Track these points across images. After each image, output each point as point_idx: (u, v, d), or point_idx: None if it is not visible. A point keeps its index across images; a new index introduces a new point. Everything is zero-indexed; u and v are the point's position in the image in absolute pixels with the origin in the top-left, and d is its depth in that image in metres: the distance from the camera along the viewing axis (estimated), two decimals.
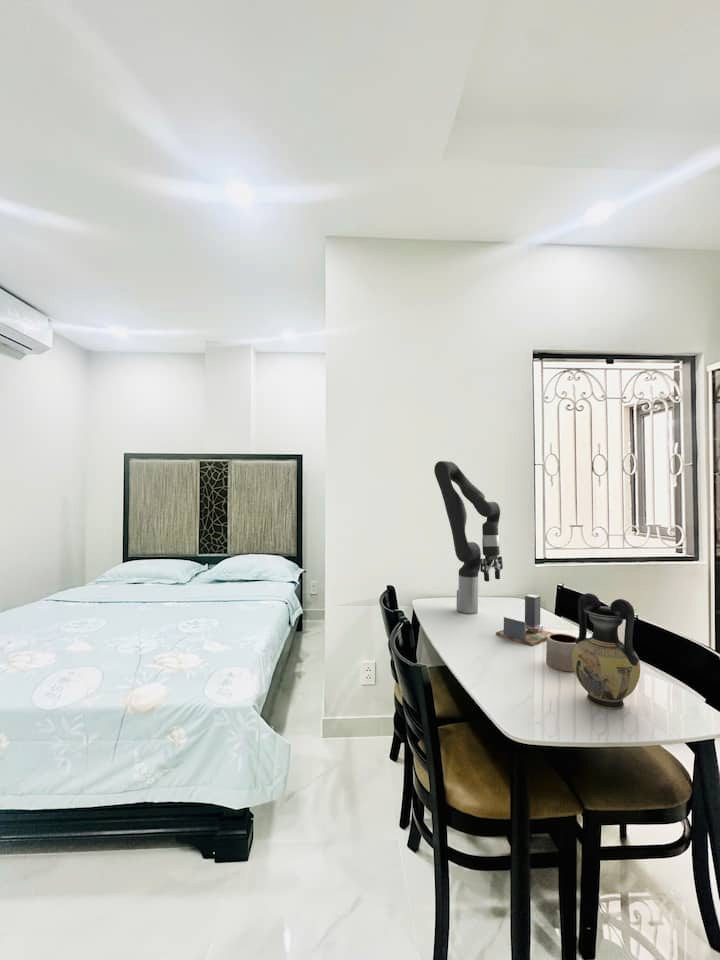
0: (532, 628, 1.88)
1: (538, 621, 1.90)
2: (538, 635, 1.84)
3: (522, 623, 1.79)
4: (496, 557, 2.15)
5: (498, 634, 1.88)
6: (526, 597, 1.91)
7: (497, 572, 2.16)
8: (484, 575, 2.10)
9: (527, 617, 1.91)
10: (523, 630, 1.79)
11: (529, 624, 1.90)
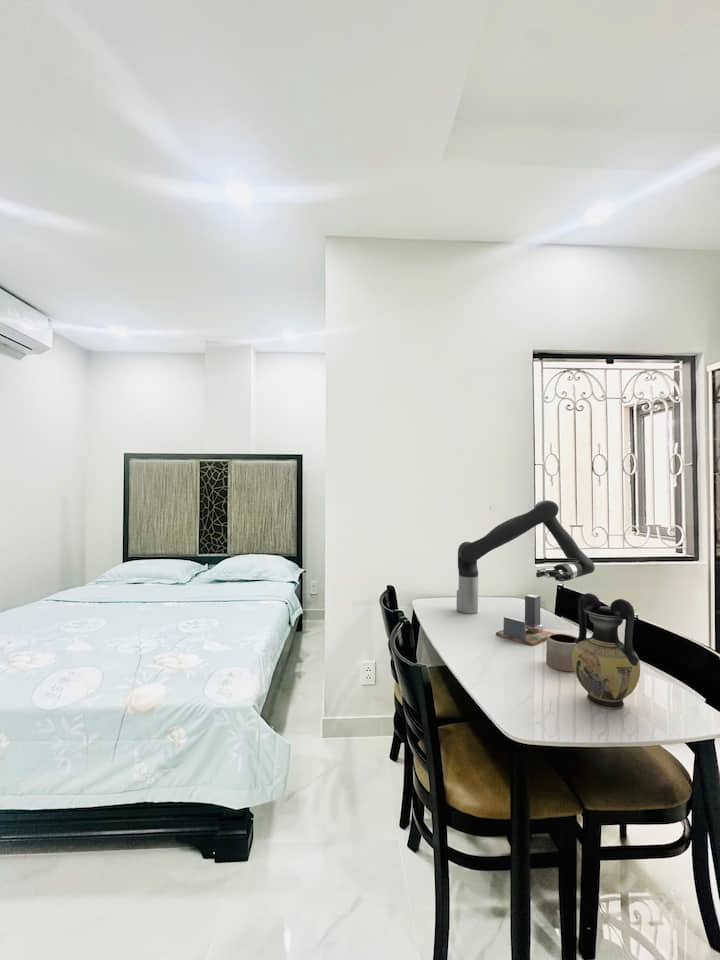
0: (532, 628, 1.88)
1: (538, 621, 1.90)
2: (538, 635, 1.84)
3: (522, 623, 1.79)
4: None
5: (498, 634, 1.88)
6: (526, 597, 1.91)
7: (541, 574, 2.03)
8: (561, 576, 1.96)
9: (527, 617, 1.91)
10: (523, 630, 1.79)
11: (529, 624, 1.90)
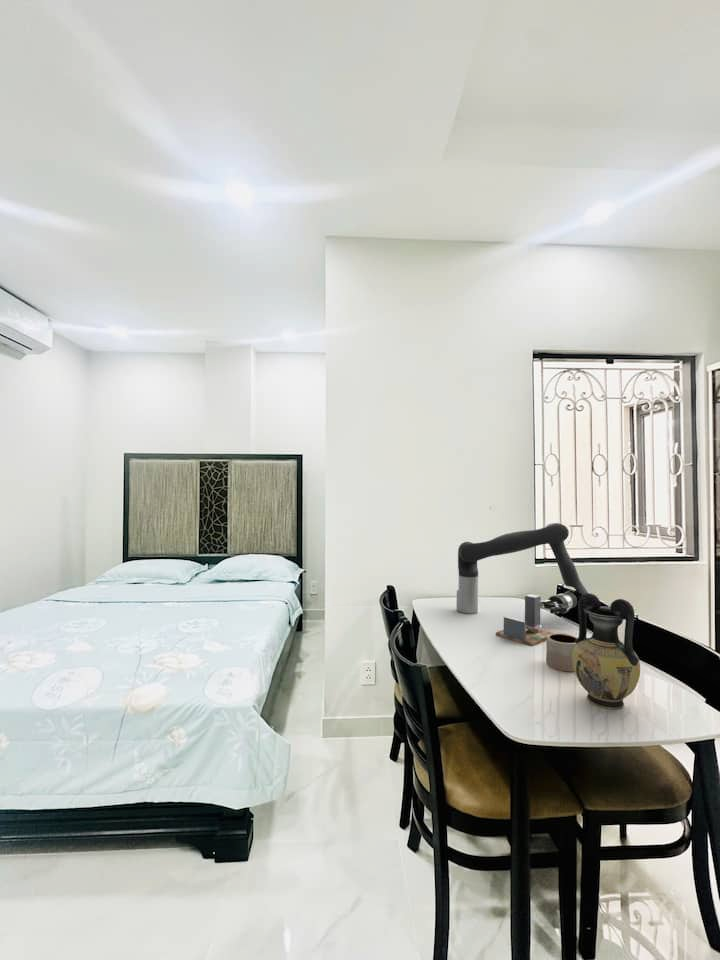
0: (532, 628, 1.88)
1: (538, 621, 1.90)
2: (538, 635, 1.84)
3: (522, 623, 1.79)
4: None
5: (498, 634, 1.88)
6: (526, 597, 1.91)
7: None
8: (556, 609, 1.94)
9: (527, 617, 1.91)
10: (523, 630, 1.79)
11: (529, 624, 1.90)
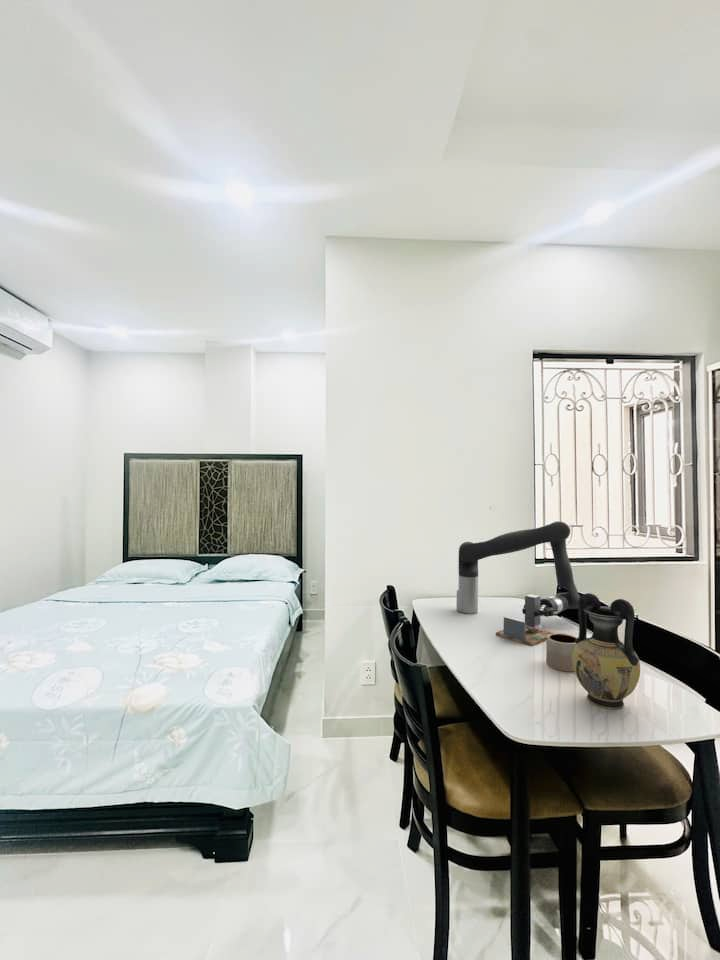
0: (532, 628, 1.88)
1: (538, 621, 1.90)
2: (538, 635, 1.84)
3: (522, 623, 1.79)
4: None
5: (498, 634, 1.88)
6: (526, 597, 1.91)
7: None
8: (540, 612, 1.89)
9: (527, 617, 1.91)
10: (523, 630, 1.79)
11: (529, 624, 1.90)
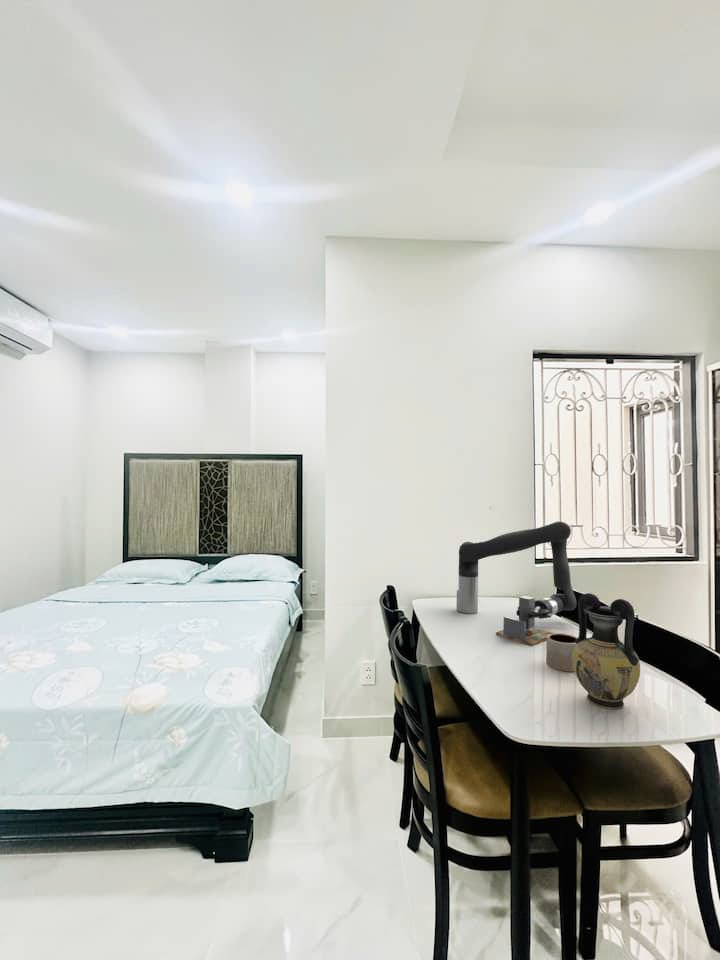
0: (526, 630, 1.85)
1: (532, 623, 1.87)
2: (538, 635, 1.84)
3: (522, 623, 1.79)
4: None
5: (498, 634, 1.88)
6: (520, 599, 1.88)
7: None
8: (534, 614, 1.86)
9: (521, 619, 1.88)
10: (523, 630, 1.79)
11: None
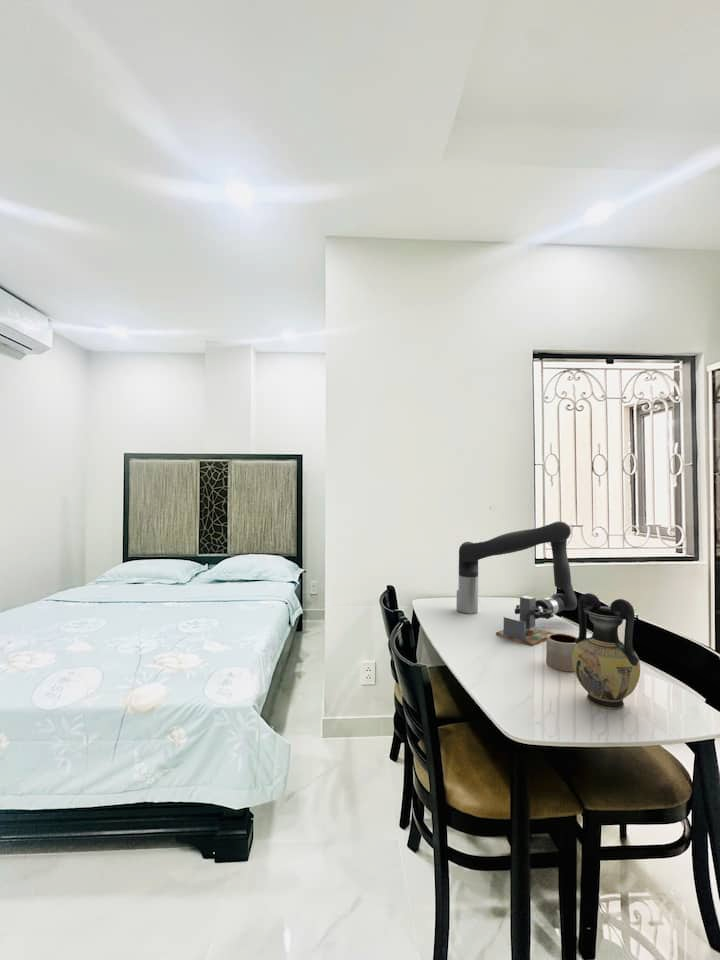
0: (527, 630, 1.86)
1: (533, 623, 1.88)
2: (538, 635, 1.84)
3: (522, 623, 1.79)
4: None
5: (498, 634, 1.88)
6: (521, 598, 1.89)
7: None
8: (541, 614, 1.85)
9: (522, 619, 1.88)
10: (523, 630, 1.79)
11: None
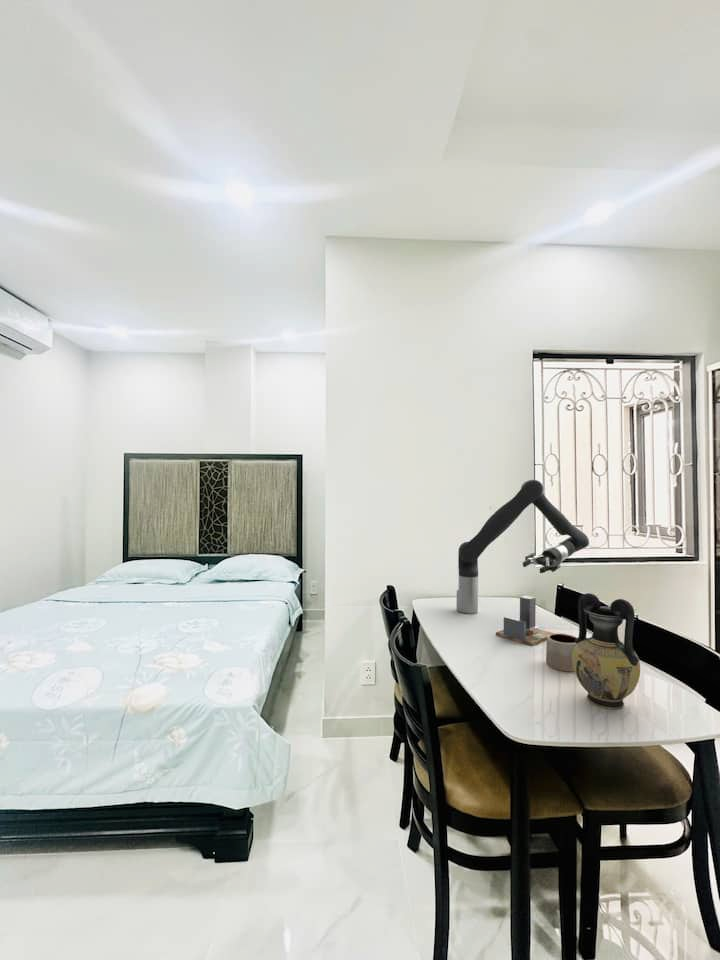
0: (527, 630, 1.86)
1: (533, 623, 1.88)
2: (538, 635, 1.84)
3: (522, 623, 1.79)
4: None
5: (498, 634, 1.88)
6: (521, 598, 1.89)
7: (528, 563, 2.03)
8: (546, 568, 1.95)
9: (522, 619, 1.88)
10: (523, 630, 1.79)
11: None
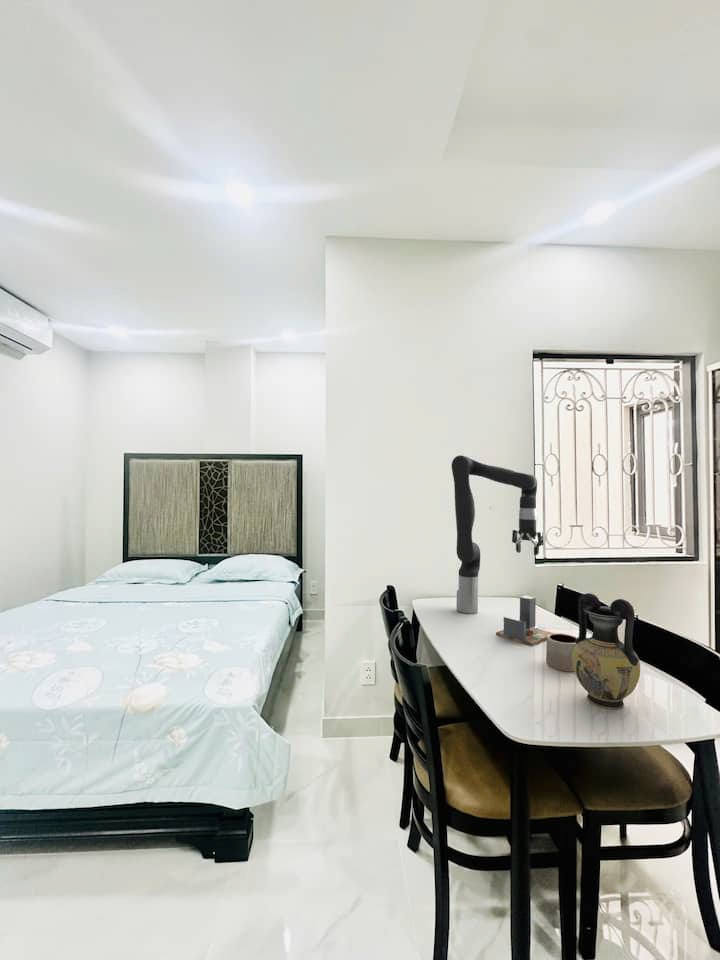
0: (527, 630, 1.86)
1: (533, 623, 1.88)
2: (538, 635, 1.84)
3: (522, 623, 1.79)
4: None
5: (498, 634, 1.88)
6: (521, 598, 1.89)
7: (519, 545, 2.14)
8: (537, 549, 2.07)
9: (522, 619, 1.88)
10: (523, 630, 1.79)
11: None
